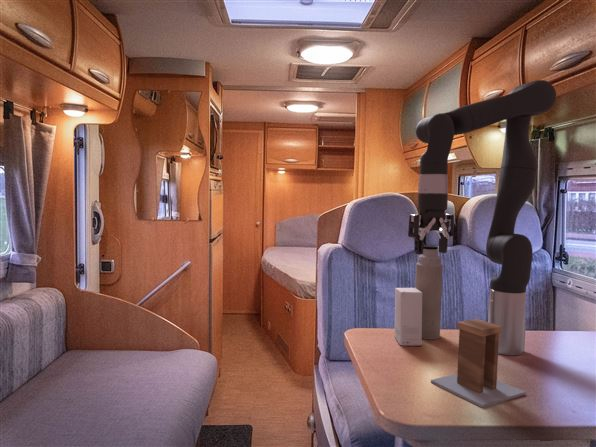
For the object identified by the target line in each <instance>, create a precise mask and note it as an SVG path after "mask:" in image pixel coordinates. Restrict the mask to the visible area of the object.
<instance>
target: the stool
mask: <svg viewBox="0 0 596 447" xmlns="http://www.w3.org/2000/svg"><path fill="white" fill-rule="evenodd" d="M456 328H457V329H458V330H459V333H458V335H459V336H458V350H457V351H458V352H457V354H458V356H457V373H456V374H457V383H458V384H460V385H462V386H464V387H467V388H469V389H471V390H473V391H475V392H477V393H482V392H483V385H484V386H486V387H488V388H490V389H496V385H497V380H498V362H499V360H498V359H499V353H498V346H499V333H502V326H499V325H496V324H492V323H489V322H488V321H485V320H481V319H478V318H473V319H468V320H467V319H466V320H462V321H457V322H456Z"/></svg>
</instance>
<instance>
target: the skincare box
mask: <svg viewBox="0 0 596 447" xmlns="http://www.w3.org/2000/svg"><path fill="white" fill-rule="evenodd" d="M394 339H395V340H396V341H397V342H398V344H399V345H400V346H404V347H405V346H406V347H408V346H410V347H411V346H412V347H414V346H415V347H417V346H421V347H422V344H423V343H422V342H423V341H422V339H423V338H422V292H421V291H419V290H418V289H416V288H415V287H395V288H394Z"/></svg>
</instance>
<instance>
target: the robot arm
mask: <svg viewBox="0 0 596 447" xmlns="http://www.w3.org/2000/svg"><path fill="white" fill-rule="evenodd" d="M556 100H557V91H556V89H555V86H554V85H553V84H552V83H551V82H549V81H547V80H545V79H544V80H542V79H538V80H532V81H529V82H526V83H523V84H520V85H517V86H516V87H514V88H512V90H510V92H509V93H508V94H506V95H505V94H504V95H501V96H498V97H493V98H490V99H484V100H480V101H477V102H473V103H469V104H467V105H462V106H459V107H457V108H455V109H453V110H450V111H447V112H442V113H436V114H433V115H430V116H426V117H424V118H422V119H420V121H419V122H418V123H417V125H416V129H415V135H416V137H417V139H418V140H419V141H420V142H422V143H424V144H427V148H426V150H425V152H423V153H422V154H421V155H420V158H419V159H420V160H419V177H418V185H417V187H418V188H417V210H419V213H417V214H415V213H414V214H413V213H410V214H409V216H408V217H409V220H408V231H407V232H408V233H407V235H408V238H411V239H413V240H414V248H413V249H414V253H415V254H416V255H419V256H420V255H421V254H423V246H424V238H425V236H426V235H427V234H429V232H433V231H434V232H435V233H437V235H438V237H439V238H438V253H439V254H440V253H441V254H446V253H447V252H448V247H449V246H448V245H449V244H448V241H449V239H450V238H451V237H454V236H455V214H453V213H445V211H447V210H448V200H449V198H448V197H449V193H448V192H449V177H448V168H449V167H448V165H449V164H448V162H449V161H448V159H449V155H450V154H451V150H452V145H453V142H454V136H457V135H464V134H468V133H472V132H474V131H477V130H481V129H483V128H486V127H488V126H489V127H490V126H491V125H494V124H497V123H500V122H503V121H505V133H504V134H505V135H504V143H503V149H502V150H503V151H502V157H501V158H502V159H501V165H500V171H499V177H498V186H497V193H496V197H495V198H496V199H495V204H494V210H493V214H492V220H491V224H490V228H489V231H488V234H487V239H486V244H485V248H486V249H485V251H486V252H485V253H486V256H487V258H488V259H489V261H491V262H492V263H494V264H496V265H497V264H498V265H501V269H500V273H499V275H497V276H494V277H492V278H490V281H489V298H488V299H489V300H488V301H489V302H488V320H487V322H489V323H492V324H496V325H499V326H502V333H499V346H498V355H499V354H500V355H505V356H520V355H522V354H523V352H524V351H525V346H526V344H525V343H526V325H527V324H526V323H527V318H526V317H525V316H526V301H527V300H526V296H527V295H526V294H527V293H526V292H527V286H528V284H529V283H530V279H531V272H532V264H533V245H532V242H531V240H530V239H529V237H527V236H526V235H524V234H521V233H515V227H516V222H517V218H518V215H519V214H520V212H521V210H522V208H523V207H524V205H525V204H526V203H527V201H528V200H529V198H530V197H531V195H532V193H533V190H534V188H535V185H536V178H537V170H538V160H537V157H536V153H535V152H534V149H533V147H532V144H531V141H530V135H529V133H530V125H531V119H532V117H535V116H540V115H543V114H544V113H546V112H548V111H550V110H551V109H552V108H553V106H554V105H555V103H556Z"/></svg>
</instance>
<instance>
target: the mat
mask: <svg viewBox="0 0 596 447" xmlns="http://www.w3.org/2000/svg"><path fill="white" fill-rule="evenodd" d="M430 383H431V384H433V385H434V386H435V385H436V386H437V387H439V388H441V389H443V390H446V391H447V392H449V393H452V394H454V395H455V396H457V397H460V398H461V399H464V400H466V401H468V402H470V403H472V404H474V405H476V406H477V407H480V408H482V409H483V408H486V407H491V406H493V405H496V404H499V403H502V402H506V401H509V400H513V399H515V398H519V397H522V396H525V395H526V391H524V390H521V389H520V388H517V387H515V386H512V385H510V384H507V383H505V382H502V381H501V380H498V379H497V385H496V389H490V388H488V387H486V386H484V385H483V392H482V393H477V392H475V391H473V390H471V389H469V388H467V387H464V386H462V385H460V384H458V383H457V373H454V374H449V375H446V376H441V377H437V378H433V379H430Z"/></svg>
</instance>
